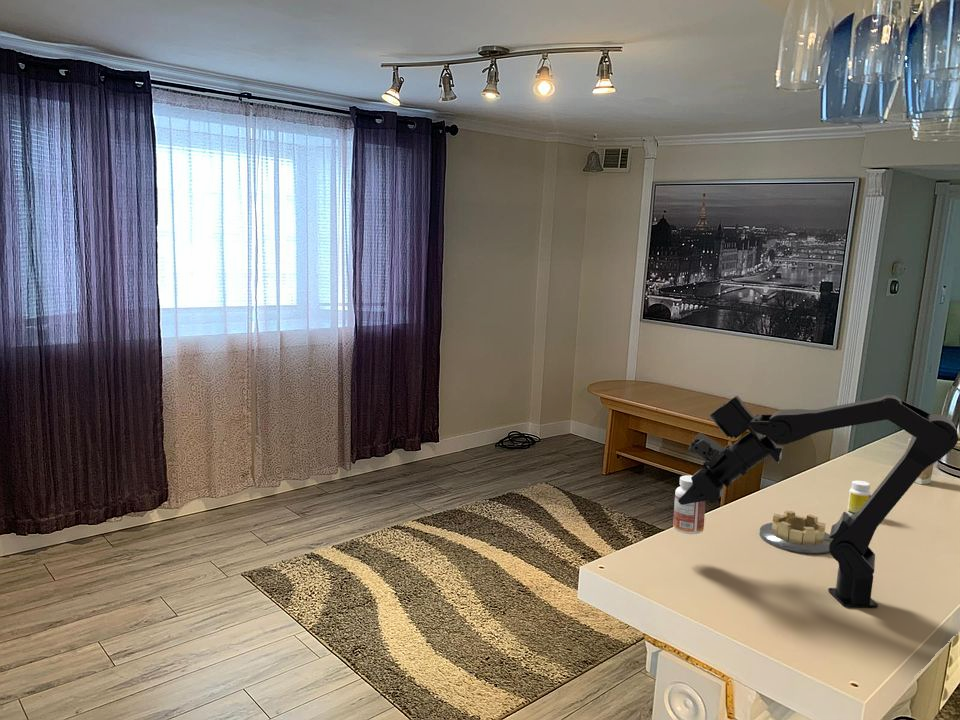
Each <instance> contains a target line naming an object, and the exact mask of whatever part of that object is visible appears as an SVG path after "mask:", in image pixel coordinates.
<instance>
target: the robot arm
mask: <svg viewBox="0 0 960 720" xmlns="http://www.w3.org/2000/svg"><path fill="white" fill-rule="evenodd" d="M708 416H709V418H710V420H711V421H712V422H713V423H714V424H715V425H716V426H717V427H718V428H719V430H720V431H721V433H723V435H725V436H726V438H730V439H733V438H734V439H737V438H739V437H740V436H741V435H743V434H744V433H745V432H747V431H749V432H748V433H746V434H745V435H744V436H743V437H741V438H739V439H738V440H737V441H735V442H734V443H732V444H728V445H726V446H725V447H724V446H723V445H721V444H719V442H717V441H715V440H714V439H712V438H711V437H709V436H707V435H705V434H704V433H702V432H699V433H697V434H696V435H695V436H694V438H693V441H692V442H691V443H690V445H689V446H688V449H687V450H688V451H690V452H691V453H692V454H695V455H697V456H699V457H701V458H702V459H704V462H703V463H702V467H701V468H700V469H699V470H697V471H696V472H694V474H693V475H691V476H692V477H691V479H692V486H691V487H690V488H689V489H688V490H687V491H686V492H685V494H684V495H683V496H682V497H681V498H680V499H679V500H678V502H679V503H680V504H681V505H684V504H690V503H696V502H703V501H706V502H709V503H711V504H713V503H715V502H716V501H718V500H720V498H721V497H722V495H723V494H724V486H725V488H727V487H729V486H730V485H731V484H732V483H733V482H734V481H736V479H738V478H739V477H741V476H744V475H746V474H747V473H748V472H749V470H751V469H752V468H754V467H755V466H757V465H758V464H759V463H761V462H762V461H763V460H766V458H768V457H769V456H771V458H772V459H773V460H774V461H775V462H776V463H779V462H781V460H782V457H783V455H782V453H783V452H782V451H783V449H784V446H783V445H788V444H791V443H794V442H797V441H799V440H803V439H805V438H807V437H810V436H811V435H813V434H817V433H819V432H824V431H830V430H834V429H840V428H847V427H852V426H856V425H857V426H859V425H864V424H868V423H869V424H870V423H874V422H875V423H876V422H880V421H886V420H887V421H889V422H891V423H893V424H894V425H896V426H897V427H899V428H900V429H902V430H903V431H905V432H906V433H908V434H909V435H911V438H910V439H911V440H910V443H909V445H908V447H907V446H906V450H905V451H904V453H903V454H902V456H901V458H900V459H899V460H898V461H897V463H896V464H895V465H894V466H893V467H892V468H891V470H890V471H889V472H888V473H887V475H886V476H885V477H884V479H883V480H882V481H881V482H880V483H879V485H878V486H877V487H876V489H874V491H873V492H872V494H871V496H870V497H869V499H868V500H867V501H866V502H865V504H864V505H863V506H862V507H861V509H860V510H859V511H858V512H856V513H855V514H853V515H849V514H848V513H847V511H843V513H842V514H841V516H840V518H839V520H838V521H837V522H836V523H835V524H832V525H831V528H830V533H829V535H830V537H829V538H831V540H830V545H829V550H830V553H829V554H830V556H832V558H833V559H834V560H835V561H836V562H837V563H838V569H837V577H836V585H835V586H836V587H828V589H827V591H828V593H830V594H831V595H832V596H833V597H834V598H835V599H836V600H837V601H838V602H839V603H840V604H841V605H842V606H844V607H851V608H878V606H879V604H878V603H877V602H876V601H875V600H874V599H873V598H872V591H873V583H874V573H875V567H876V566H875V565H876V553H874V551H873V550H872V548H870V547H869V546H870V544H871V541H872V539H873V536H874V534H875V532H876V530H877V528H878V526H880V524H881V523H882V522H883V521H884V519H885V518H886V517H887V516H888V515H889V513H890V512H891V511H892V510H893V509H894V507H896V505H897V504H898V502H899V501H900V500H901V499H902V498H903V496H904V495H905V494H906V492H907V491H909V489H910V488H911V487H912V485H913V484H914V483H915V480H916V479H917V478H918V477H919V476H920V474H921V473H922V472H923V471H924V470H925V469H926V468H927V467H929V466H931V465H932V464H935V463H937V462H938V461H940V460H942V458H943V457H945V456H946V455H947V454H948V453H950V451H952V450H953V449H954V448H955V447H956V446H957V444H958V441H959V434H958V430H957V428H956V425H955V424H954V422H953V421H952V420H951V419H950V417H948V416H946V415H944V414H939V413H933V414H932V413H930V412H927V411H926V410H924V409H921V408H919V407H917V406H915V405H914V404H911V403H909V402H906V401H904V400H902V399H900V398H899V397H898V396H896V395H893V394H884V395H882V396H879V397H877V398H872V399H867V400H860V401H856V402H848V403H845V404H840V405H834V406H829V407H828V406H827V407H824V408H818V409H805V408H804V409H802V408H801V409H800V408H796V409H794V408H792V409H780V410H777V411H775V412H774V413H771V414H770V413H769V414H767V413H766V414H765V413H762V414H760V413H759V414H753V413H752V412H751V411H750V410H749V408H748V407H747V406H746V405H745V404H744V402H743V400H742V399H741V398H740V396H739V395H734V397H732V398H731V399H730V400H729V401H727V402H724V403H723V404H721V405H720V406H719V407H718V408H716V409H715V410H713V412H712V413H710V414H709V415H708Z"/></svg>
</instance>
